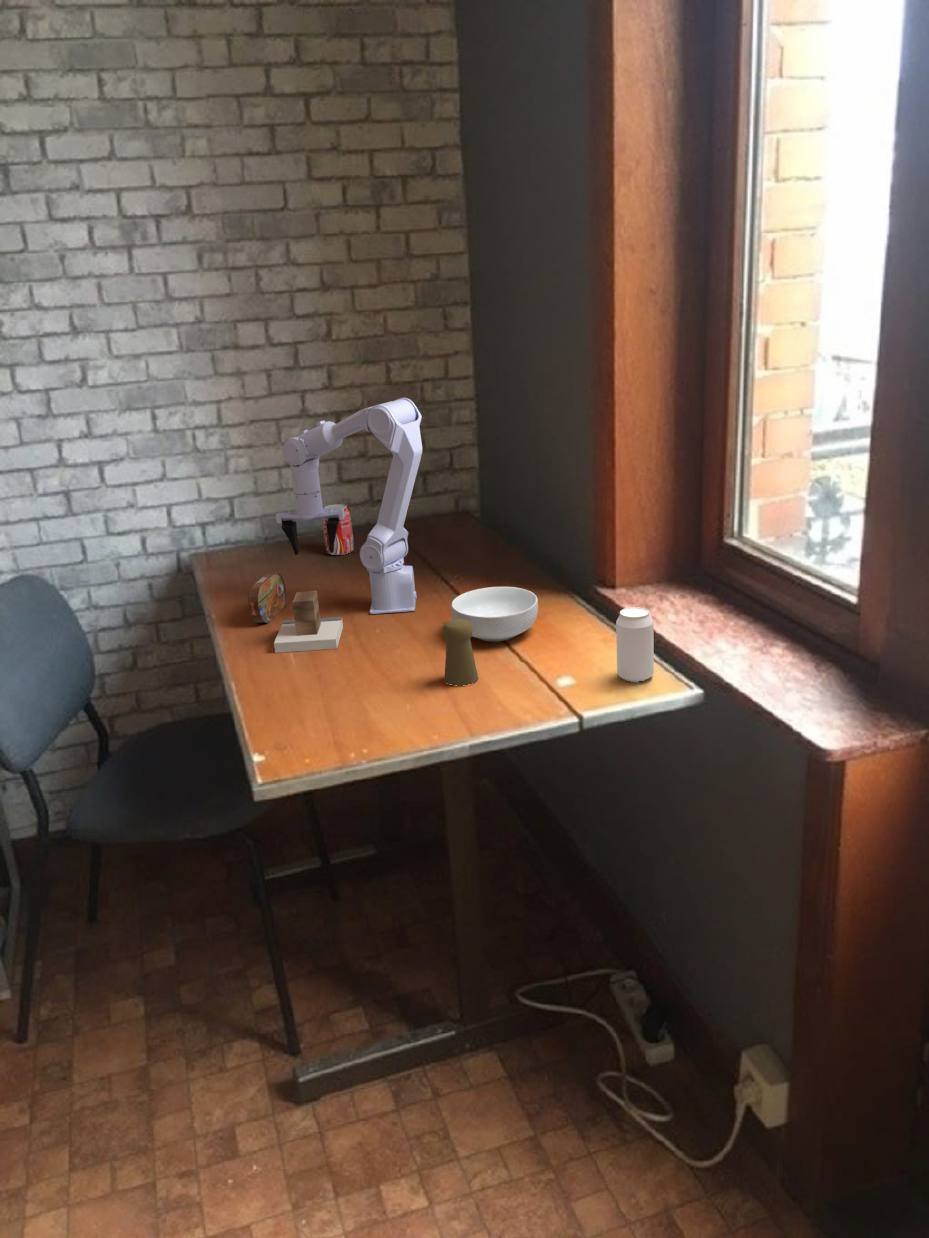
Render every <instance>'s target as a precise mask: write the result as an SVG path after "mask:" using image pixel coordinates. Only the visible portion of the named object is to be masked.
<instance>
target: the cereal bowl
mask: <svg viewBox="0 0 929 1238" xmlns="http://www.w3.org/2000/svg"><path fill="white" fill-rule="evenodd" d="M538 613H539V600H538V597H537V595H536V594H535V593H534V592H532V591H530V590H528V589H525V588H520V587H515V586H490V587H483V588H477V589H473V590H469V591H466V592H464V593H462V594H460V595H458V596H456V597H455V598H454V599H453V600H452V602H451V614H452V618H453V619H464V620H467V621H469V622H470V623H471V625H472V628H473V633H472V636H471V638H473V637H474V638H477V639H479V640H481V641H485V642H503V641H509V640H511V639H513V638H515V637H516V636H518V635H520V634H522V633H524V632H526V631H527V630H529V629H530V627H532V626H533V625H534V623H535V621H536V620H537V617H538ZM453 619H452V620H453Z"/></svg>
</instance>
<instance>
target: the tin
mask: <svg viewBox="0 0 929 1238" xmlns="http://www.w3.org/2000/svg"><path fill="white" fill-rule="evenodd" d="M286 590H287V589H286V584H285V580H284V578H283V576H282V574H281V573H279V572H272V573H266V574H264V575H262V577H261V578H259V579H258V580H257V581H256V582H255V583H253V585H252V586H250V589H249V591H248V596H247V603H248V607H249V612H250V613H249V614H250V616H251V619H252V620H253V622H255V623H257V624H263V623H264V624H265V623H266V624H269V623H271V622H273V619H275V618H276V617H277V616H278V614H280V613H281V612H282V611H283V610H284V609H285V605H286V603H287V591H286Z"/></svg>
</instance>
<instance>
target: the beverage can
mask: <svg viewBox="0 0 929 1238" xmlns="http://www.w3.org/2000/svg"><path fill="white" fill-rule="evenodd" d="M617 617H618V618H617V619H616V622H615V625H616V627H615V630H616V631H615V634H616V670H617V671H616V672H617V675H618V677H619V678H620V679H622V680H624V679H625V680H624V681H626V680H627V681H626V682H628V681H631V682H630V683H640V682H639V681H643V682H645V681H644V680H646V679H647V680H648V679H650V678H652V676H653V675H654V672H655V668H654V666H655V665H654V663H655V661H654V660H655V659H654V656H655V655H654V651H655V650H654V647H655V646H654V638H655V637H654V636H655V635H654V634H655V633H654V620H653V618H652V616H651V614H650V610H649V609H648V608H645V607H638V606H631V607H625V608H623V609H621V610H620V611H619V615H618V616H617ZM647 680H646V681H647Z"/></svg>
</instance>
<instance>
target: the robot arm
mask: <svg viewBox="0 0 929 1238" xmlns="http://www.w3.org/2000/svg"><path fill="white" fill-rule="evenodd" d="M422 418H423V417H422V414H421V412H420V410H419V409H418V407H417V405H416V404H415V403H414V402H413V401H412V399H410V398H407V397H400V398H397V399H395V400H392V401H388V402H384V403H380V404H375V405H373V406H370V407H365V408H362V409H360V410H358V411H357V412H355V413H353V414H351V415H349V416H348V417H346V418H344V419H343V420H340V421H338V422H337V423H335V422H333V421H329V420H328V421H325V420H320V421H318V422H316V426H315V427H313V428H311V429H310V430H308V429H305V430H302V431H300V432H301V434H300V435H298V436H294V437H289V438H288V439H287V440H285V442H284V443H283V445H282V454H283V457H284V460H285V461H286V462H287V463H288V464H289V466H290V473H291V481H292V489H293V497H294V503H295V505H294V506H295V509H294V510H289V511H283V512H276V514H275V519H276V521H275V522H276V524H281V525H280V527H281V530H282V532H283V533H284V534H285V536H286V537H287V539H288V541H289V542H290V544H291V546H292V550H293V553H294V555H295V556H298V555H299V554H300V553H301V552H300V545H299V539H298V530H297V529H298V528H297V522H307V521H308V522H309V521H310V522H311V521H323V520H327V519H328V521H327V523H326V526H327V531H328V536H329V550H330V553H333V552H334V543H335V536H336V532H337V528H338V525H339V522H340V519H344V517H345V516H344V509H328V508H324V507H323V498H322V492H321V491H322V490H321V482H320V473H319V466H320V458H321V456H322V457H323V456H324V455H326V454H328V453H331V452H332V451H334V450H336V449H338V448H340V447H341V446H342V445H343V441H344V438H346V437H348V436H350V435H353V434H355V433H358V432H361V431H362V430H364V429H365V431H366V433H367V432H368V433H369V432H371V433H372V435H374V436H375V437H376V438H377V439H378V441H380V443H382V445H383V446H384V447H386V449H387V450H388V451H390V452H391V454H392V459H391V463H390V467H389V471H388V475H387V479H386V484H385V489H384V492H383V496H382V500H381V505H380V507H379V513H378V516H377V522H376V523H375V525H374V526H373V527H372V529H371V530H370V532H369V533H368V534H367V536H366V537H367V538H366V541H365V542H364V543H363V545H362V546H361V547H360V550H359V557H360V561H361V563H362V565H363V566H364V568H366V570H367V572H368V573H369V584H370V593H371V594H370V595H371V604H370V607H369V614H370V615H374V614H375V615H376V614H377V615H378V614H390V613H392V614H394V613H405V612H415V611H416V603H417V602H416V601H417V599H418V598H417V596H418V595H417V591H416V587H415V586H416V585H415V575H414V568H413V565H405V559H404V558H405V557H406V556H407V554H408V553H409V544H408V536H409V531H408V530H407V529H406V528H405V527H404V525H405V521H406V517H407V514H408V513H407V512H408V508H409V505H410V501H411V497H412V494H413V489H414V485H415V482H416V478H417V475H418V470H419V467H420V463H421V459H422V454H423V444H422V435H421V428H420V425H421V422H422Z"/></svg>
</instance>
